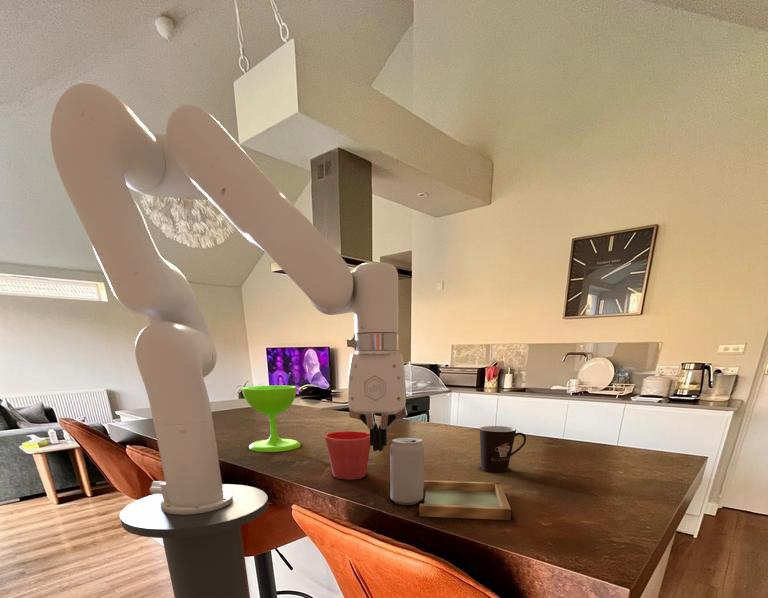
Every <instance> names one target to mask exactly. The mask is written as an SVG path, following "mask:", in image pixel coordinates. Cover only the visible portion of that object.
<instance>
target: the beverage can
mask: <svg viewBox="0 0 768 598" xmlns="http://www.w3.org/2000/svg"><path fill="white" fill-rule="evenodd" d="M424 464H425V446H424V444H423V439H421V438H417V437H397V438H393V439H391V445H390V446H389V496H390V499H391V501H393V502H394V503H395V504H398V505H404V506H411V505H413V506H414V505H416V504H420V501H422V500H423V498H424V476H425V475H424V473H425V471H424V469H425V465H424Z"/></svg>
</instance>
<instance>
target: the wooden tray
mask: <svg viewBox="0 0 768 598" xmlns="http://www.w3.org/2000/svg"><path fill="white" fill-rule="evenodd" d="M423 492H425V495H424V501H423V503H419V511H418V512H419V513H418V514H419V517H428V518H447V519H448V518H450V519H451V518H452V519H473V520H474V519H475V520H497V521H511V518H512V517H511V516H512V508H511V506H510V503H509V501H508V499H507V496H506V493H505V491H504V489H503V486H502V484H501V482H498V481H497V482H495V481H465V480H433V479H431V480H430V479H423Z"/></svg>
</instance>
